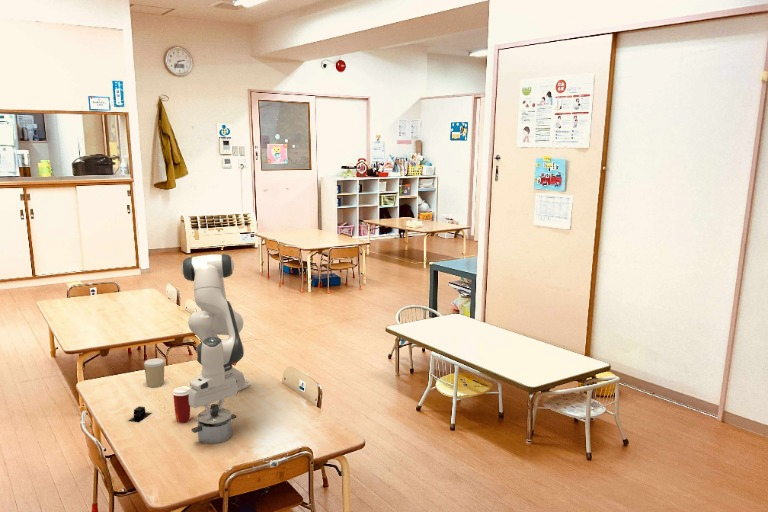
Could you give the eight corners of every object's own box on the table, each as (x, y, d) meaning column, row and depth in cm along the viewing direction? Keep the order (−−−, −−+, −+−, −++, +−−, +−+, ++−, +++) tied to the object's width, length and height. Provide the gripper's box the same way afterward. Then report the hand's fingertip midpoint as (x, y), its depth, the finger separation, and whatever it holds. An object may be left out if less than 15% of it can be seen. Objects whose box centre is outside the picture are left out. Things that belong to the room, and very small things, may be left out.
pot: (226, 423, 250) (226, 407, 249) (244, 433, 241) (244, 417, 240) (185, 438, 236) (184, 422, 235) (202, 449, 227) (201, 432, 226)
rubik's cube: (210, 435, 239) (210, 423, 239) (219, 430, 244) (219, 419, 243) (220, 438, 237) (220, 426, 236) (228, 432, 242) (228, 421, 241)
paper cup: (196, 418, 254) (195, 387, 252) (184, 425, 247) (183, 394, 245) (181, 415, 257) (179, 384, 254) (169, 422, 249) (167, 391, 247)
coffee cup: (151, 380, 294) (150, 357, 292) (169, 381, 293) (168, 358, 291) (141, 387, 285) (140, 364, 283) (159, 389, 284) (158, 365, 282)
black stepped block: (138, 425, 247) (137, 415, 247) (123, 423, 249) (122, 413, 248) (155, 413, 259) (155, 403, 259) (140, 411, 261) (140, 401, 260)
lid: (219, 406, 246) (219, 396, 245) (237, 416, 238) (237, 405, 237) (191, 416, 237) (191, 405, 236) (208, 427, 228) (208, 415, 227)
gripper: (231, 369, 244) (232, 401, 246) (185, 383, 229) (187, 416, 232) (240, 373, 240) (240, 405, 242) (194, 387, 225) (195, 421, 227)
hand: (214, 411), depth 237 cm, fingers closed on lid, 3 cm apart
